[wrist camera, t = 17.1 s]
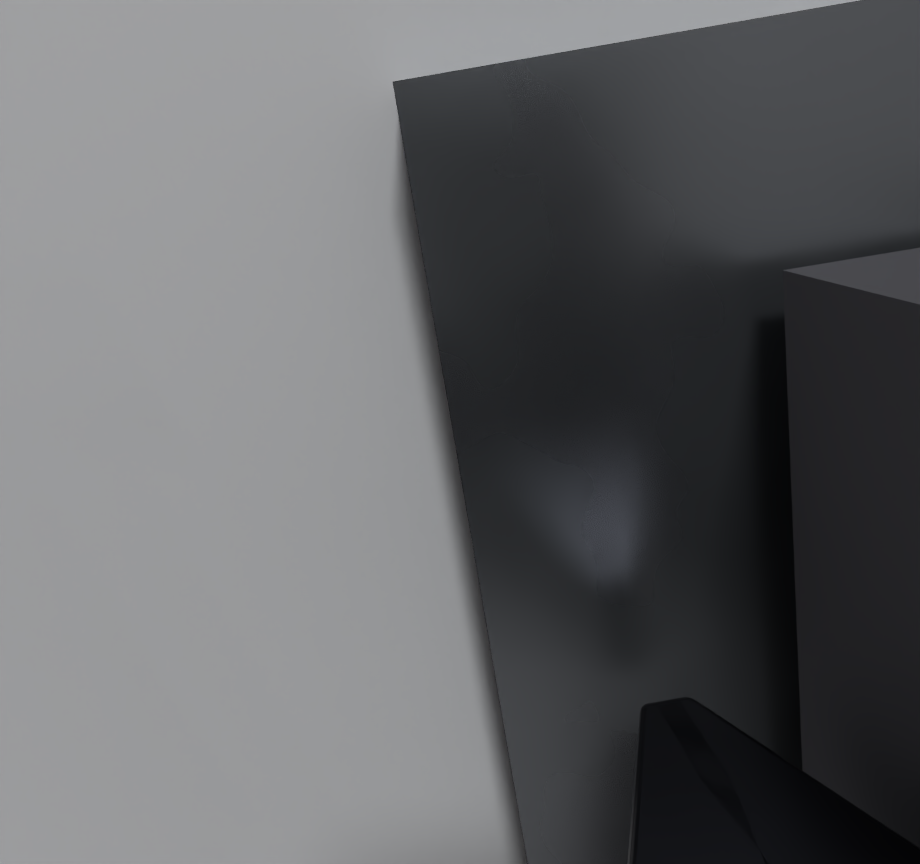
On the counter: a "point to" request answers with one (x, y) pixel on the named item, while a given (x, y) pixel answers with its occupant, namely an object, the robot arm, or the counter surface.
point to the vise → (645, 364)
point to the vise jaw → (858, 526)
